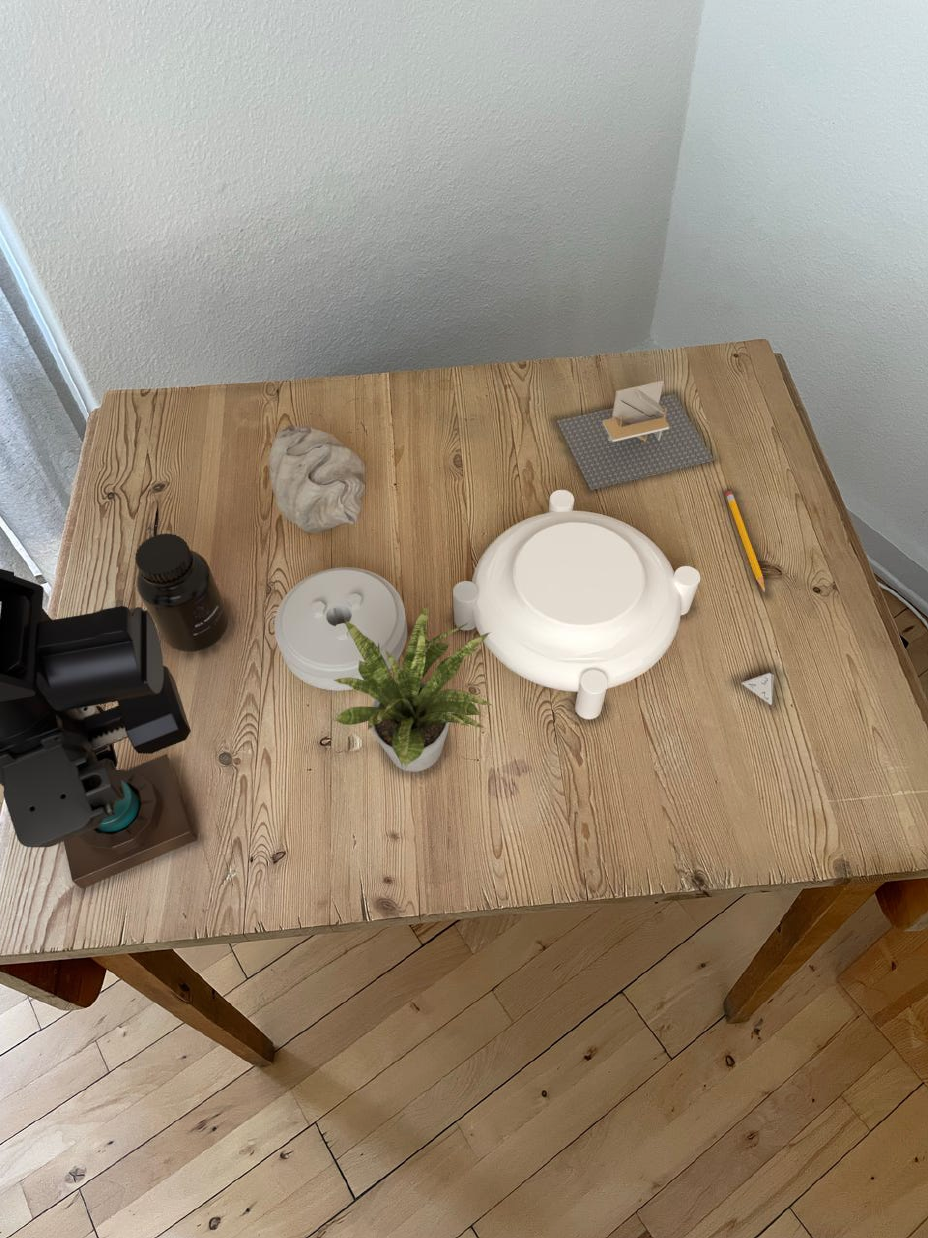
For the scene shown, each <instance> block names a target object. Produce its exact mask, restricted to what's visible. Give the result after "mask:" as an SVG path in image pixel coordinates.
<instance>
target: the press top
mask: <svg viewBox="0 0 928 1238" xmlns="http://www.w3.org/2000/svg"><path fill="white" fill-rule="evenodd" d="M121 783H122V786H123V789H124V792H125V797H124V799H122V800H120V801H117V802H116V803H115V804H114V810H115V815H113V816H110V817H108V818H106V819H103V821H102V823H101V824H100V825H99V826H98V827H97V828H98V829H100V830H102V831H106V832H113V831H118V830H121V829H123V828H124V827H126V826H127V825H129V824H130V823H131V822H132V821H133V819H134V818H135V816H136V814H137V812H138V808H139V801H138V797H137V795H136V794H135V793H134V791H133V790H132V789H131V788H130V787H129V786H128V785H127V784H126V783H125V782H124V781H122V780H121Z"/></svg>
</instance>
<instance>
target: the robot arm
mask: <svg viewBox="0 0 928 1238" xmlns="http://www.w3.org/2000/svg"><path fill="white" fill-rule="evenodd" d="M44 592H45V588H44V587H43V585H40V584H38V583H35V582H32V581H30V580H28V579H25V578H23V577H20V576H16V575H15V571H11V570H7V569H3V568H0V785H1V786H2V787H3V791H2V792H3V798H4V802H5V805H6V808H7V811H8V814H9V817H10V821H11V824H12V826H13V830H14V833H15V835H16V838H17V841H18V842H19V843H20V844H21V845H22V846H24V847H26V848H51V847H55V846H57V845H58V844H61V843H64V841H65V840H68V839H70V838H73V837H75V836H77V835H80V834H82V833H85V832H88V831H91V830H93V829H95V828H97V827H98V826H99V825H100V824H101V823H102V821H103V819H106V818H108V817H110V816H113V815H115V810H114V804H115V803H116V802H117V801H120V800H122V799H124V797H125V792H124V789H123V786H122V783H121V780H120V778H119V775H118V772H117V769H118V768H117V766H118V756H117V752H116V749H115V745H114V744H116V743H118V742H121V741H123V740H126V739H129V742H130V744H131V746H132V748H133V750H134V751H135V753H136V754H147V755H149V754H151V755H153V754H155V753H157V752H159V751H162V750H164V749H167V748H170V747H172V746H175V745H177V744H180V743H183V742H185V741H187V738H188V737H189V735H190V734H191V732H192V730H191V726H190V723H189V720H188V718H187V715H186V711H185V709H184V705H183V702H182V699H181V696H180V693H179V690H178V686H177V683H176V680H175V678H174V676H173V674H172V671H171V670H170V669H169V667H168V666H166V665H164V660H163V657H164V656H163V652H162V646H161V641H160V637H159V634H158V629H157V626H156V624H155V622H154V621H153V619H152V617H151V615H150V613H149V611H148V610H147V609H143V608H142V607H140V606H136V607H129V608H128V607H127V606H125V605H121V606H115V607H109V608H104V609H101V610H97V611H95V612H91V613H85V614H79V615H78V614H77V615H74V616H73V615H71V616H67V617H62V618H61V617H60V618H56V619H53V618H51V617H50V616H49V614H48V613H47V612H46V610H45V608H43V604H44ZM116 702H117V705H116V706H114V707H111V708H108V709H106V710H104V708H102V706H100V705H105V704H110V703H116Z"/></svg>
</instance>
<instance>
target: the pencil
mask: <svg viewBox="0 0 928 1238" xmlns="http://www.w3.org/2000/svg"><path fill="white" fill-rule="evenodd" d="M725 497H726V500H727V502H728V505H729V508H730V510H731V513H732V517H733V519H734V522H735V525H736V527H737V530H738V532H739V533H738V534H739V536H740V539H741V542H742V544H743V548H744V550H745V552H746V556H747V558H748V560H749V563H750V566H751V569H752V572H753V574H754V575H753V576H754V578H755V580H756V582H757V583H758V584H759V587H760V588H761V589H762V592H764V593H766V588H765V579H764V576H763V572H762V570H761V566H760V565H759V562H758V559H757V556H756V554H755V550H754V548H753V545H752V543H751V540H750V537H749V534H748V531H747V529H746V526H745V523H744V520H743V518H742V515H741V513H740V509H739V507H738V503H737V501H736V498H735V496H734V493H733V491H732V490H729V491H727V492H726V493H725Z"/></svg>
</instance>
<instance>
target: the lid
mask: <svg viewBox="0 0 928 1238" xmlns="http://www.w3.org/2000/svg"><path fill="white" fill-rule="evenodd" d="M406 617H407V616H406V609H405V605H404V602H403V600H402V597H401V595H400V593H399V592H398V590H397V589H396V588H395V587H394V586H393V584H392V583H390V582H389V581H388V580H387V579H385V578H384V577H383V576H381V575H379V574H377V573H375V572H372V571H370V570H368V569H367V570H366V569H363V568H357V567H347V566H346V567H345V566H343V567H342V566H341V567H332V568H328V569H324V570H320V571H318V572H315V573H313V574H310V575H308V576H306V577H305V578H303V579H302V580H300V581H299V582H298V583H297V584H295V585H294V586H293V587H292V588H291V589H290V590H289V591H288V592H287V593H286V595H285V596H284V597H283V599H282V600H281V602H280V604H279V605H278V608H277V611H276V613H275V618H274V628H273V629H274V635H275V636H274V637H275V640H276V644H277V647H278V649H279V650H280V654H281V656H282V657H281V658H282V659H283V661H284V663H285V665H286V667H287V668H288V669H289V671H290V672H291V673H292V674H293V675H294V676H296V677H297V678H298V679H299V680H301V681H302V682H304V683H306V684H308V685H309V686H312V687H314V688H318V689H321V690H327V691H339V692H340V691H341V692H342V691H350V690H354V689H353V688H351V687H350V686H348V685H346V684H340V683H338V682H336V681H333V680H336V679H341V678H357V679H361V680H364V679H363V678H362V676H361V675H360V673H359V670H358V668H359V660H360V661H362V662H365V661H364V659H363V657H362V655H361V653H360V652H359V650H358V648H357V646H356V644H355V642H354V640H353V639H352V637H351V635H350V633H349V630H348V628H347V626H346V624H345V621H347V622H349V623H351V624H353V625H355V626H356V627H357V628H358V629H359V631H360V632H361V633H362V634H363V635H364V636H366V637H368V638H369V639H370V640H372V641H373V642H374V643H375V644H376V646H377V647H378V642H379V649H380V653H381V655H382V657H383V658H384V660H385V662H386V664H387V666H388V669H389V671H391V670H392V667H391V665H390V662H389V659H388V657H387V654H386V651H387V652H388V653H389V654H390V655H392V656H393V658H394V659H395V661H396V663H397V664H398V661H399V660H400V658H401V657H402V655H403V652H404V650H405V647H406V645H407V639H408V623H407V619H406ZM344 618H345V620H344ZM364 681H365V680H364Z"/></svg>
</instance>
